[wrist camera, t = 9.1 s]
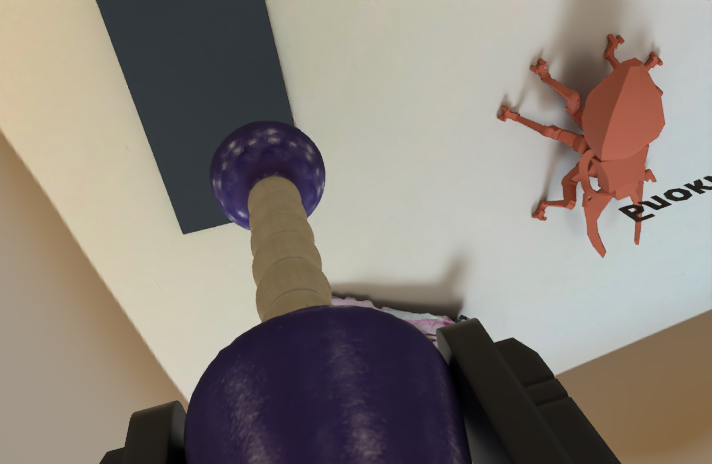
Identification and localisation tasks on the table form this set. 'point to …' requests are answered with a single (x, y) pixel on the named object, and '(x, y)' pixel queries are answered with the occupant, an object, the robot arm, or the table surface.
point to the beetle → (610, 141)
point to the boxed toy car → (407, 317)
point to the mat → (196, 86)
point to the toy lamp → (312, 339)
